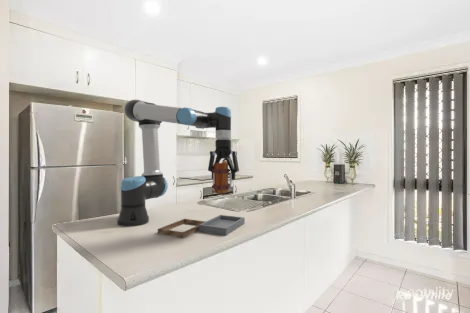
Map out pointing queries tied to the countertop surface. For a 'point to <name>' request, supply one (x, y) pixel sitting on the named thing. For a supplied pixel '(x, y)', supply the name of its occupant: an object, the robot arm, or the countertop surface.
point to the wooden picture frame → (167, 231)
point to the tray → (222, 224)
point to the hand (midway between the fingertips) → (223, 186)
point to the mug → (221, 177)
